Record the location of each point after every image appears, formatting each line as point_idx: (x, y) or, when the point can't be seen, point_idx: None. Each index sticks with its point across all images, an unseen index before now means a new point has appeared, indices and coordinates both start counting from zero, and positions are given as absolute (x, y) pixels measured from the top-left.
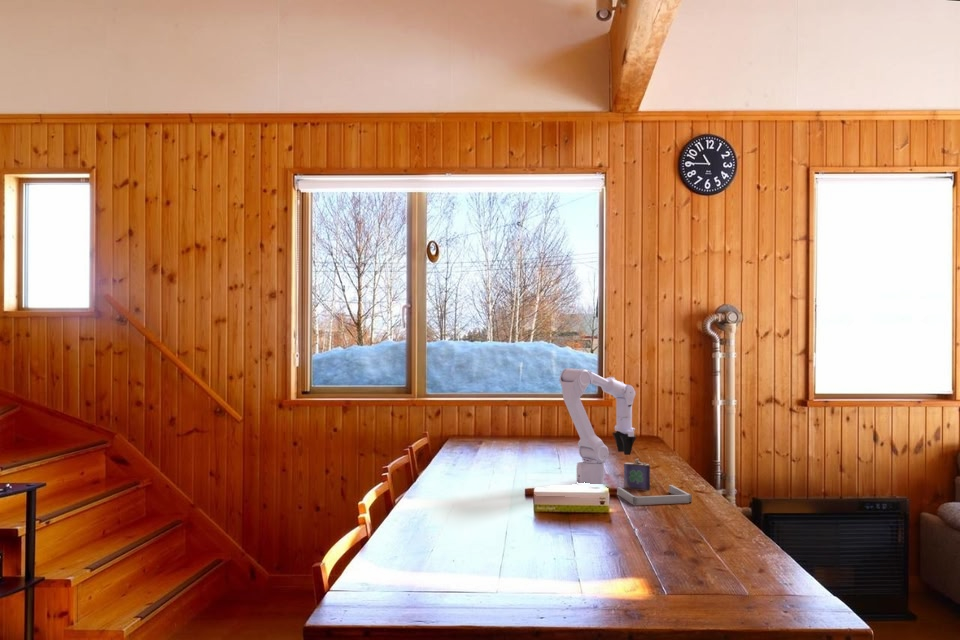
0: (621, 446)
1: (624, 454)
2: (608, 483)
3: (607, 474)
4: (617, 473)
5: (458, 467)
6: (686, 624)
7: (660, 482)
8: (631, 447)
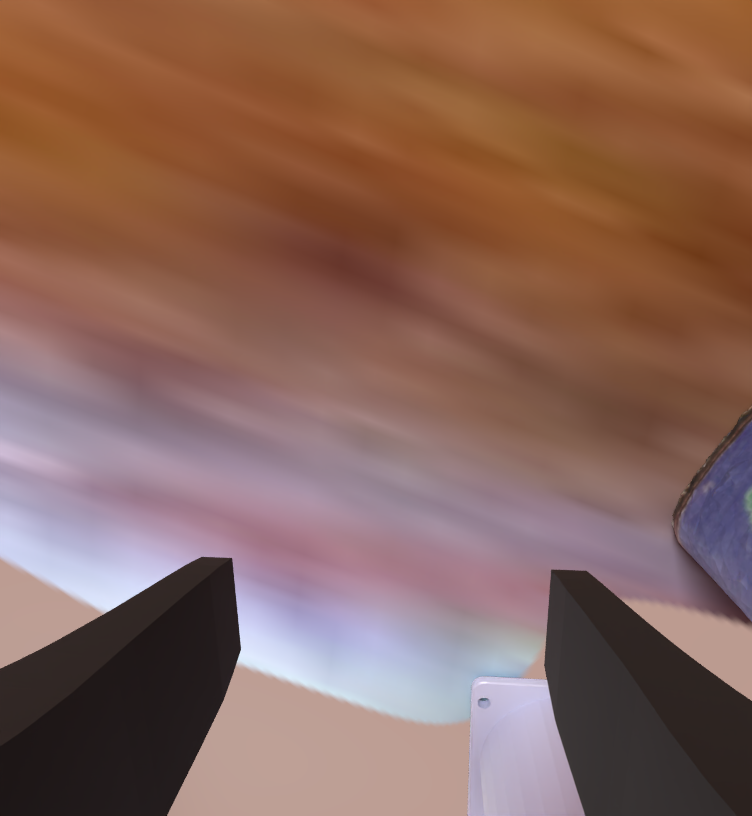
0: (190, 674)
1: (547, 667)
2: (476, 607)
3: (103, 480)
4: (58, 371)
5: None
6: None
7: (550, 50)
8: (694, 674)
